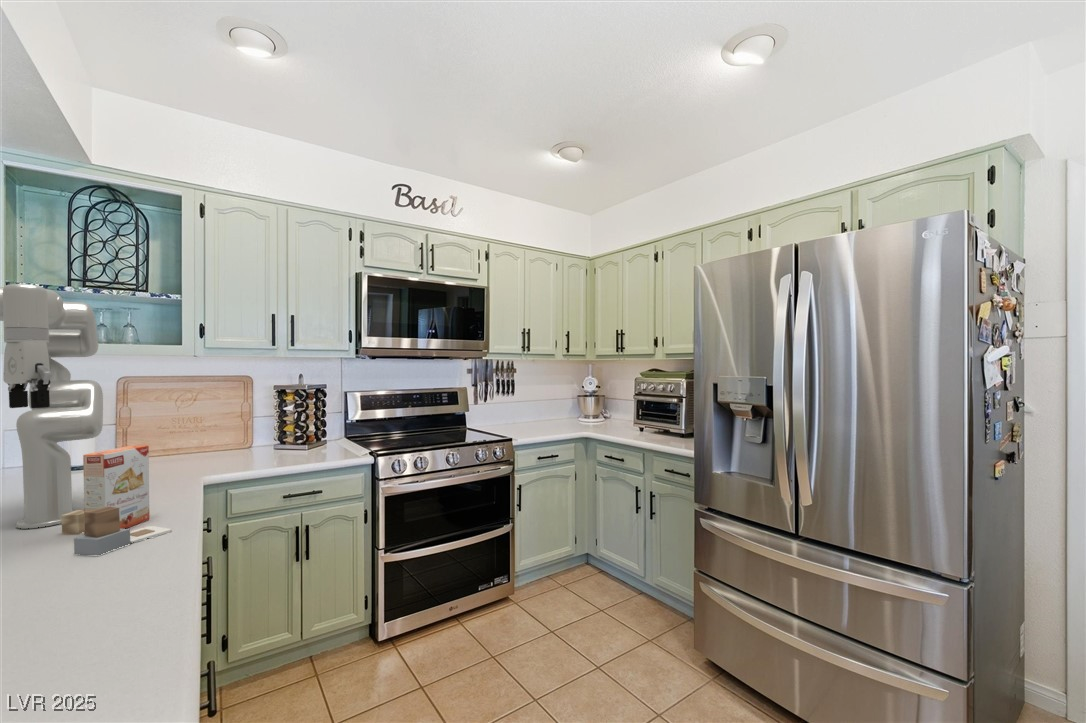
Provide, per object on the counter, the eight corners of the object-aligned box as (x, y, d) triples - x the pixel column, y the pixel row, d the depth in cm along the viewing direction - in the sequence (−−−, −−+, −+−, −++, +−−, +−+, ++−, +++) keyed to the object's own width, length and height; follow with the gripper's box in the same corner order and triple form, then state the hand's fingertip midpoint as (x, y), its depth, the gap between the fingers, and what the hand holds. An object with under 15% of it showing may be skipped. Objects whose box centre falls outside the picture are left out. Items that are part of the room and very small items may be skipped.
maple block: (62, 534, 128) (61, 515, 128) (79, 528, 132) (78, 510, 132) (78, 534, 128) (78, 514, 128) (95, 528, 132) (94, 509, 132)
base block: (74, 555, 113) (73, 538, 113) (107, 544, 120) (107, 527, 120) (98, 557, 112) (97, 539, 112) (130, 545, 118) (129, 529, 118)
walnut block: (85, 536, 114) (84, 512, 114) (107, 529, 119) (107, 506, 119) (97, 537, 113) (96, 513, 113) (120, 531, 117) (119, 507, 117)
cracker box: (107, 537, 124) (104, 453, 124) (83, 537, 125) (80, 454, 125) (152, 519, 138) (149, 444, 138) (130, 519, 139) (128, 444, 139)
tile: (109, 539, 122) (109, 536, 122) (150, 528, 131) (150, 525, 131) (131, 543, 119) (131, 540, 119) (172, 531, 127) (171, 528, 127)
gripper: (-13, 337, 119) (-11, 409, 119) (24, 334, 113) (27, 409, 113) (28, 338, 126) (31, 406, 126) (66, 335, 120) (69, 406, 120)
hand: (29, 407), depth 120 cm, fingers open, 9 cm apart
